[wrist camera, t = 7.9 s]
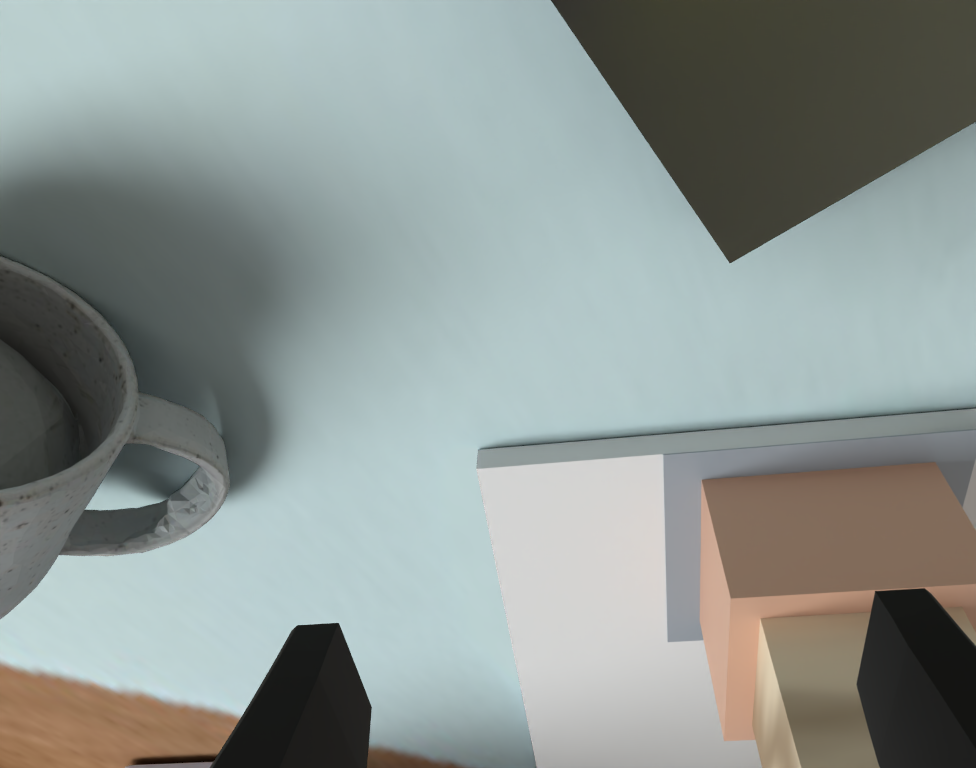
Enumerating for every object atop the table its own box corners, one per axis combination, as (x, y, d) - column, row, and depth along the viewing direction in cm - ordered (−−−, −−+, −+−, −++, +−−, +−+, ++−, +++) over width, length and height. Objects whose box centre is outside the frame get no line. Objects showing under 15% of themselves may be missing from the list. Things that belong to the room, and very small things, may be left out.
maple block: (929, 717, 22) (1010, 908, 18) (752, 725, 22) (795, 911, 18) (962, 606, 19) (1065, 802, 15) (760, 618, 19) (813, 811, 16)
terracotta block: (900, 609, 25) (955, 731, 22) (699, 620, 26) (724, 741, 23) (935, 462, 22) (1006, 582, 18) (701, 479, 22) (730, 598, 19)
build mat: (904, 770, 32) (912, 792, 31) (543, 783, 34) (543, 804, 33) (1010, 405, 21) (1025, 426, 21) (477, 449, 23) (476, 469, 22)
